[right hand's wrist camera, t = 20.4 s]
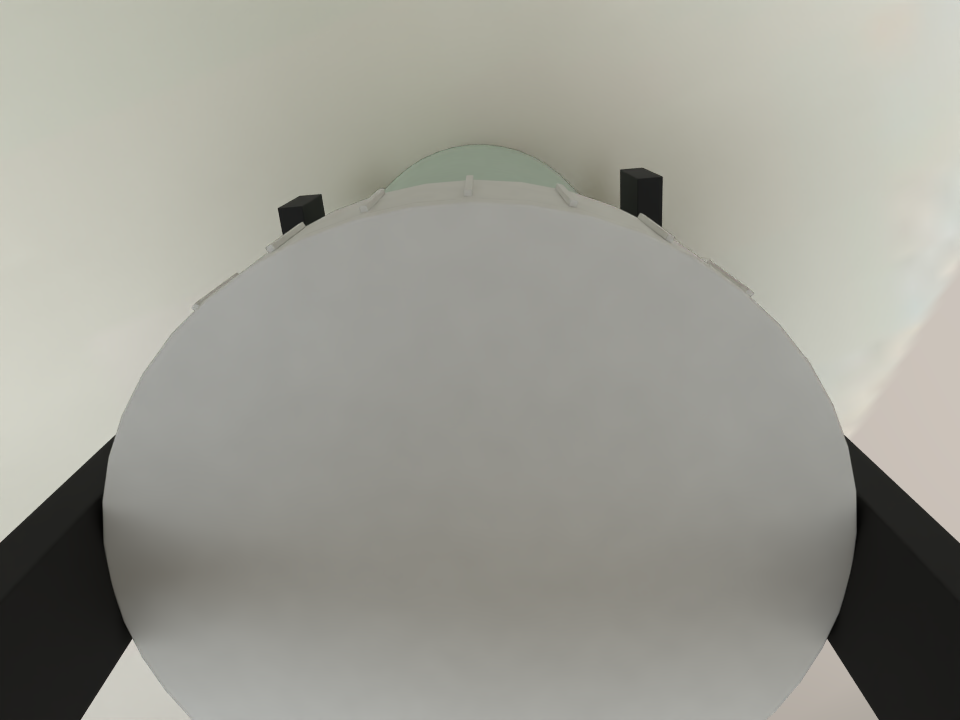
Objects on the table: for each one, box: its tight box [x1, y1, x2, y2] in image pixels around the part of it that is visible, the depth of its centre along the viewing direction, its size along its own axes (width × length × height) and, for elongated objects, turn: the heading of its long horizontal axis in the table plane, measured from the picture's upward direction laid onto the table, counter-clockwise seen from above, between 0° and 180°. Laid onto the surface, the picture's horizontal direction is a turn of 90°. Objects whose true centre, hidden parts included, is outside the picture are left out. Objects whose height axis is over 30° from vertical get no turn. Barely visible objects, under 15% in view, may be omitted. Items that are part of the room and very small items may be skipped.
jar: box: [384, 145, 578, 194], centre depth 20 cm, size 10×10×19 cm
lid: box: [103, 175, 857, 720], centre depth 12 cm, size 12×12×2 cm
